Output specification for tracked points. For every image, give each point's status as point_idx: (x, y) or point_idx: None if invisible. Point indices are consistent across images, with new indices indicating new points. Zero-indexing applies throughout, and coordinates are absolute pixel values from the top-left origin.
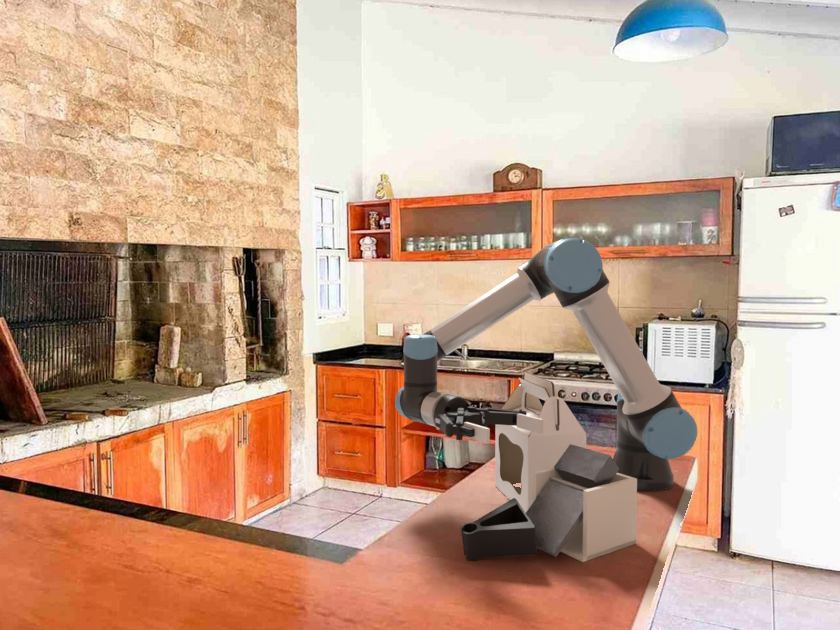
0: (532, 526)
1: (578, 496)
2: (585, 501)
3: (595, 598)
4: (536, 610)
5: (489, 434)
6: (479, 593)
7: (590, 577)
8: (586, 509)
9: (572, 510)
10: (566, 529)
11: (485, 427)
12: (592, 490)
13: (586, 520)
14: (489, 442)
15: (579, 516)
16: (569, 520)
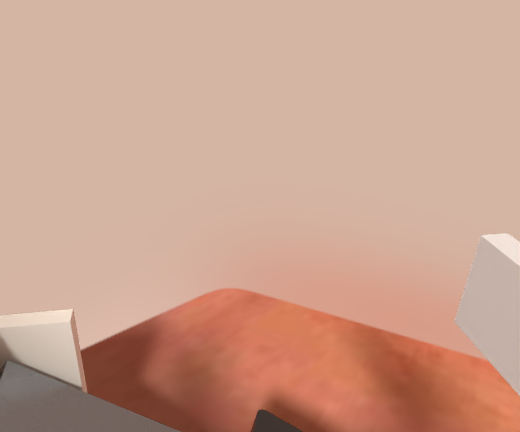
0: (264, 413)
1: (18, 411)
2: (76, 342)
3: (222, 337)
4: (343, 344)
5: (471, 273)
6: (437, 427)
7: (167, 394)
8: (80, 359)
9: (77, 420)
10: (140, 424)
11: (515, 257)
12: (47, 311)
13: (85, 383)
14: (456, 318)
15: (88, 396)
16: (112, 423)
